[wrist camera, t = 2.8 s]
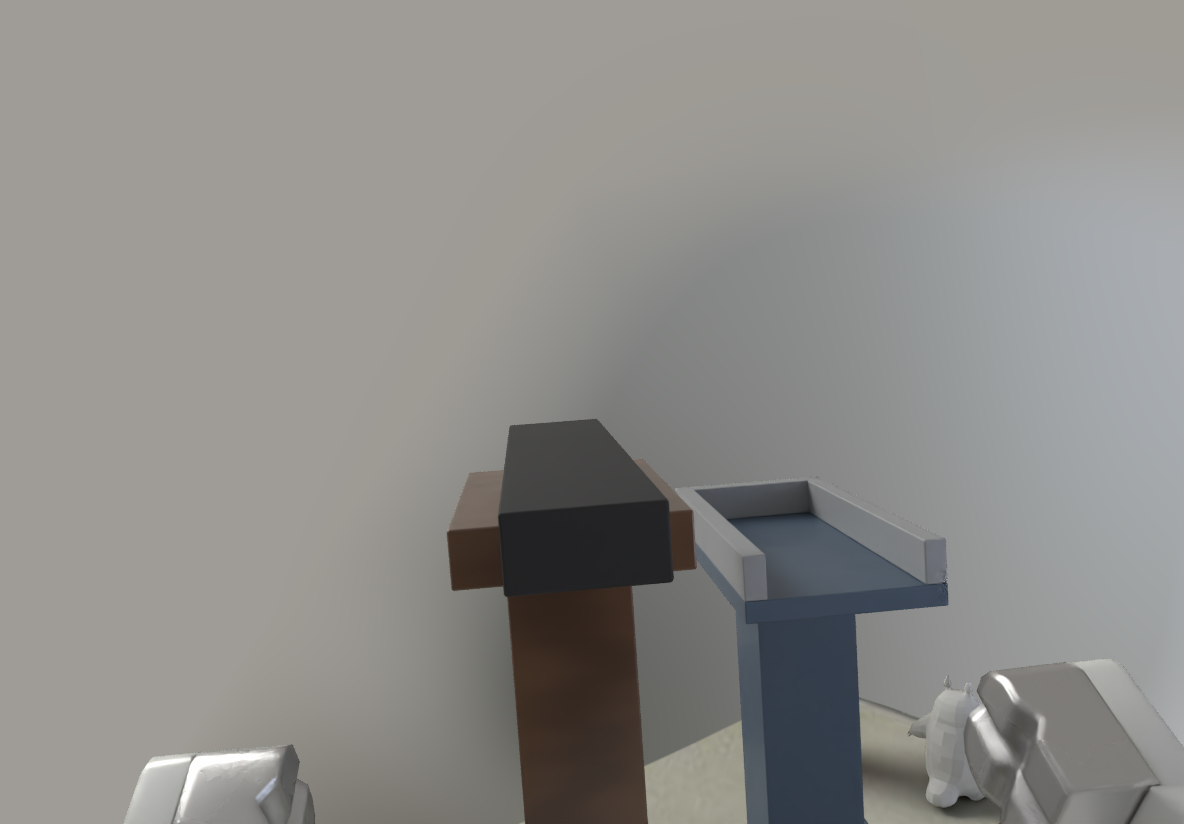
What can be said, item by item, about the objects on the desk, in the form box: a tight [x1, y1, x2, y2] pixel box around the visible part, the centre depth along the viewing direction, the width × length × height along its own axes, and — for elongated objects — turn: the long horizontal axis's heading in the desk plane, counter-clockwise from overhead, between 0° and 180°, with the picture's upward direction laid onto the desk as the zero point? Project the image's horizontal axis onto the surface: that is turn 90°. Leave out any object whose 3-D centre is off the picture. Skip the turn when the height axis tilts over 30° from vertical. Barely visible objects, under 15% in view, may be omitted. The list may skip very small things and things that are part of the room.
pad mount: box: [675, 477, 948, 824], centre depth 48 cm, size 10×17×22 cm, turn 5°
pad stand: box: [447, 459, 697, 824], centre depth 36 cm, size 10×12×26 cm
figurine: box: [908, 676, 985, 808], centre depth 59 cm, size 8×6×8 cm
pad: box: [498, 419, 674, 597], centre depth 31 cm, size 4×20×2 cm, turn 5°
